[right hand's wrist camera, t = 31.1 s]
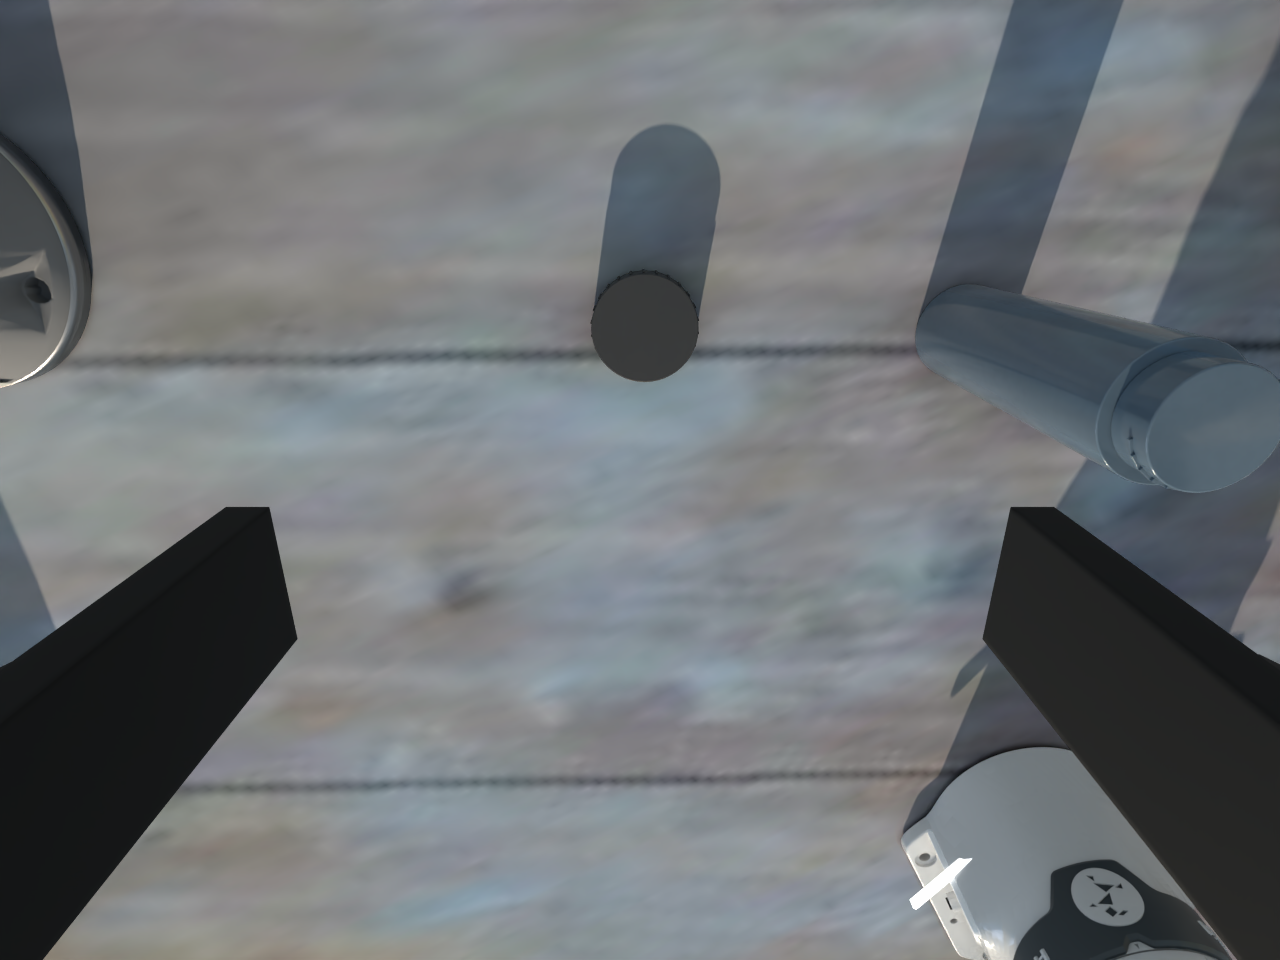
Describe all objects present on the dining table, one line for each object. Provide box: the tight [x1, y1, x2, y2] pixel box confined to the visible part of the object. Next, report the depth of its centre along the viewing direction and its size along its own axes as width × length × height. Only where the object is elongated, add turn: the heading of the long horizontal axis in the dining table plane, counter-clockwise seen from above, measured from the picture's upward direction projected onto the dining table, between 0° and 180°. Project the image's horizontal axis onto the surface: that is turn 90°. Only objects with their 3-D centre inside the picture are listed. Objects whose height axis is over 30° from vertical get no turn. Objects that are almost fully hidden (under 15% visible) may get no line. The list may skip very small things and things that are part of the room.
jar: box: [915, 284, 1280, 493], centre depth 32 cm, size 5×5×19 cm
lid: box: [591, 269, 699, 382], centre depth 39 cm, size 6×6×2 cm
